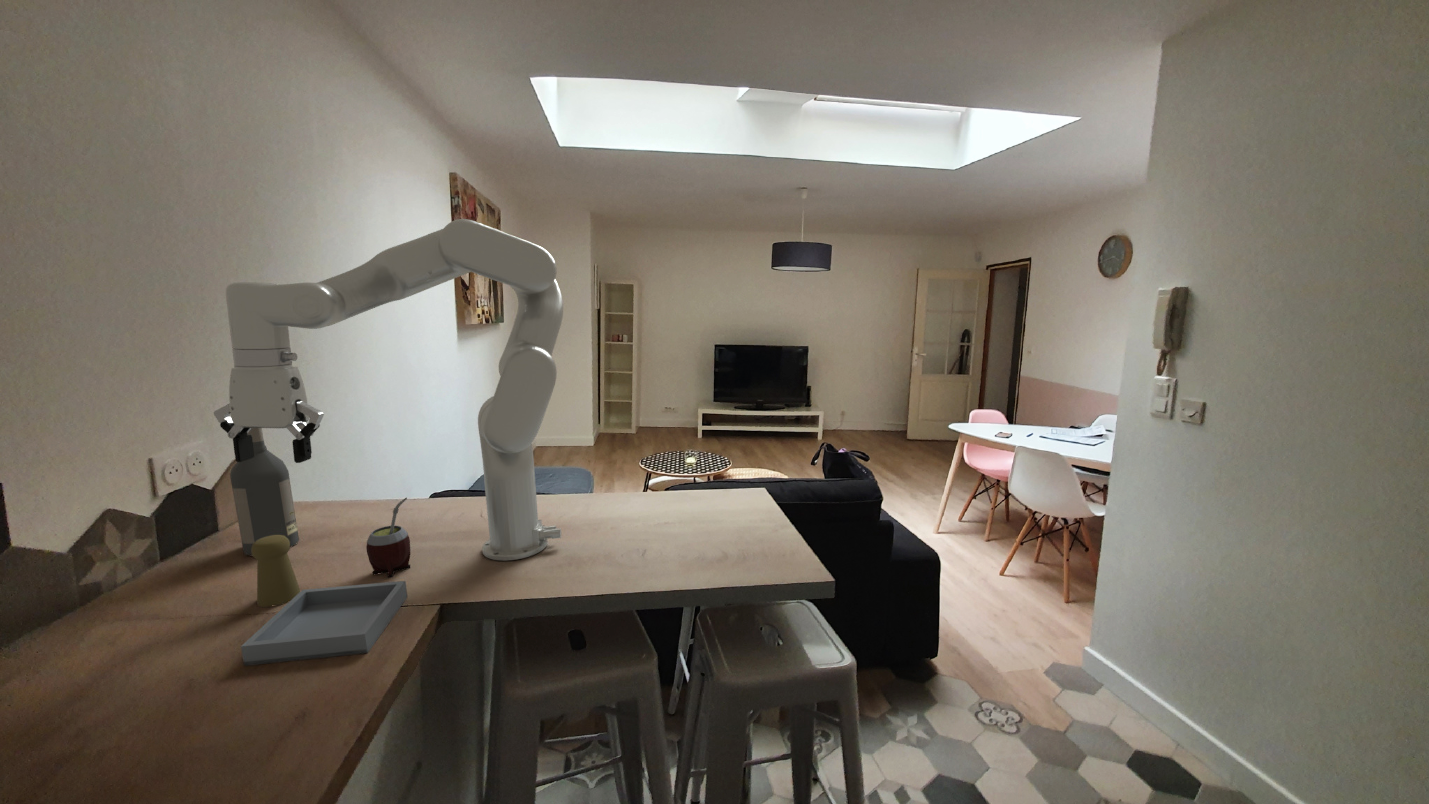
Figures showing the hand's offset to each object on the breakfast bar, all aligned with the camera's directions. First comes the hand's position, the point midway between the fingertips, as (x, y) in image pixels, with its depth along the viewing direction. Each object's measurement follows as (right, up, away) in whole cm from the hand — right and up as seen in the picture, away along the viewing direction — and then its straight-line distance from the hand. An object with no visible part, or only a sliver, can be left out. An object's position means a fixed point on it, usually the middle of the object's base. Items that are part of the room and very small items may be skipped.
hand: (274, 460), depth 97 cm
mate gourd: (+14, -22, +11) cm, 29 cm away
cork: (-1, -24, +2) cm, 24 cm away
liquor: (-18, -21, +23) cm, 36 cm away
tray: (+15, -25, -7) cm, 30 cm away
